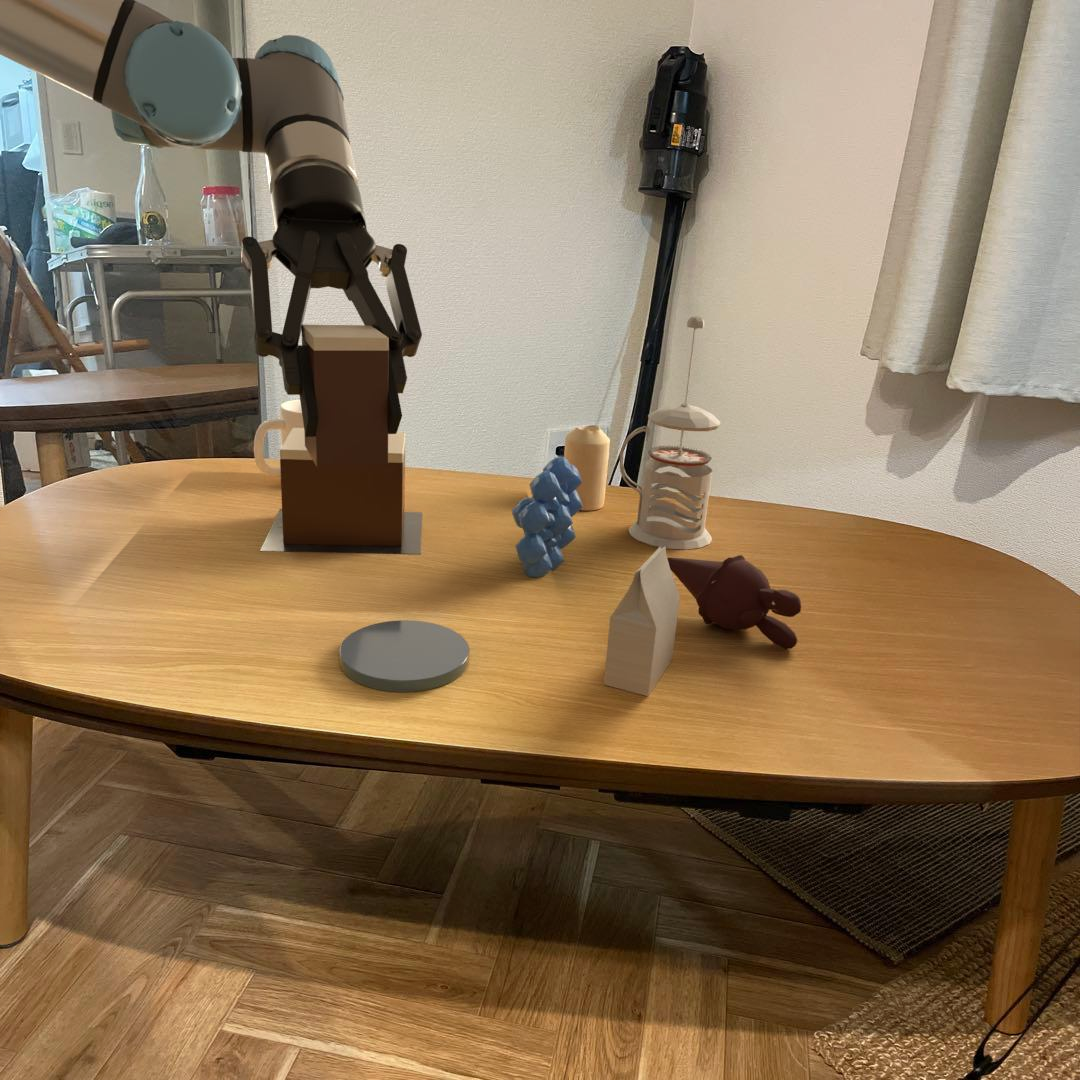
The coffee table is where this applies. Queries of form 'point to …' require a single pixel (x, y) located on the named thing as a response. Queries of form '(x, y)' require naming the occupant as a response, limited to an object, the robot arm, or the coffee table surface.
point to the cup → (288, 421)
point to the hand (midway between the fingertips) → (353, 425)
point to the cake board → (409, 545)
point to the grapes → (548, 517)
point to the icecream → (738, 596)
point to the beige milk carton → (643, 628)
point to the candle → (589, 463)
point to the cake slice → (349, 394)
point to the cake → (342, 497)
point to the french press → (675, 478)
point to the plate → (404, 656)
